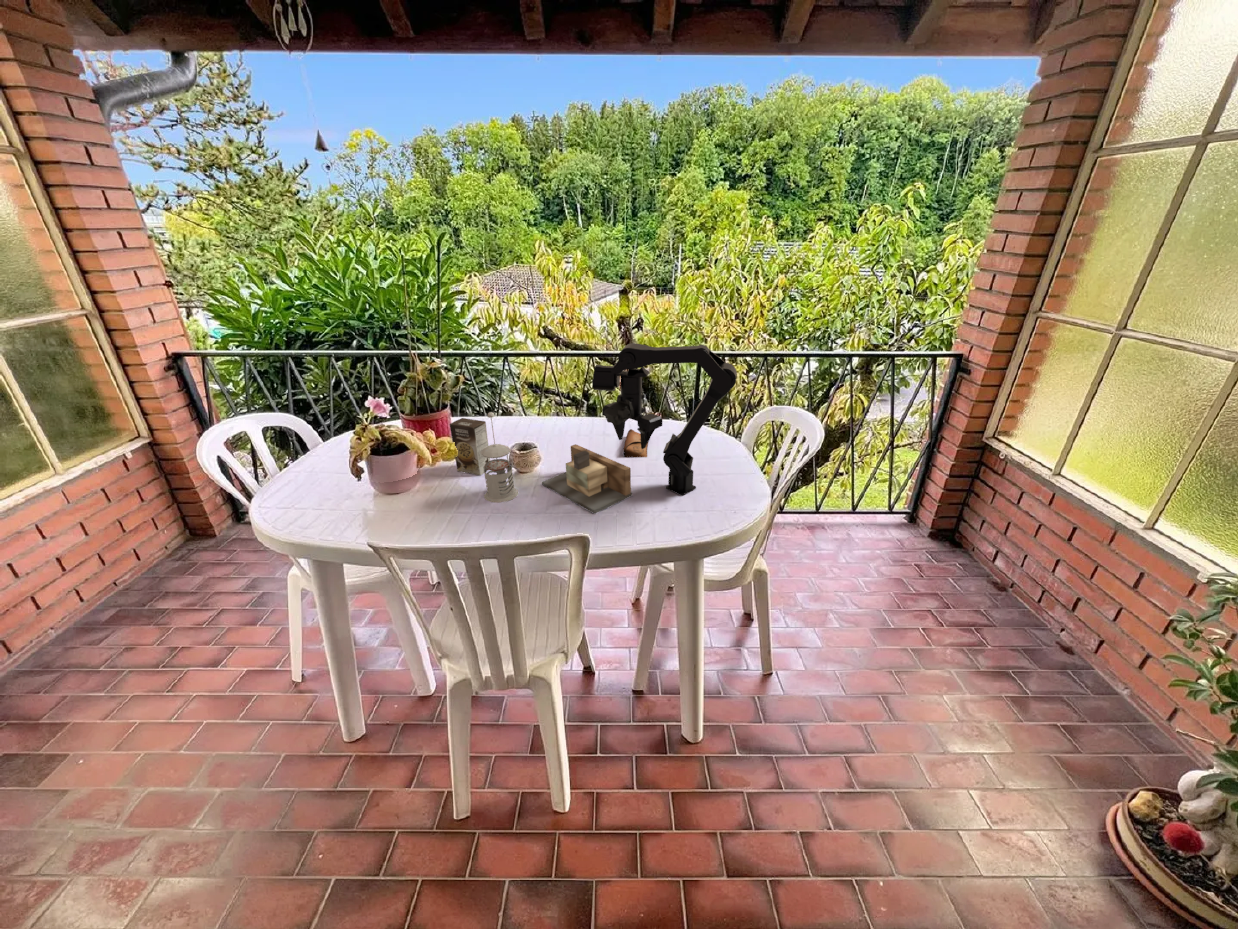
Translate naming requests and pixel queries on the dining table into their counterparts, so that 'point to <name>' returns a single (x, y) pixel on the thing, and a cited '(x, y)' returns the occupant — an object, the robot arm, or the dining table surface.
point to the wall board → (610, 490)
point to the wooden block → (585, 474)
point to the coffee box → (470, 445)
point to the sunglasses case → (634, 445)
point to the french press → (498, 473)
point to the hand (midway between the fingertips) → (631, 444)
